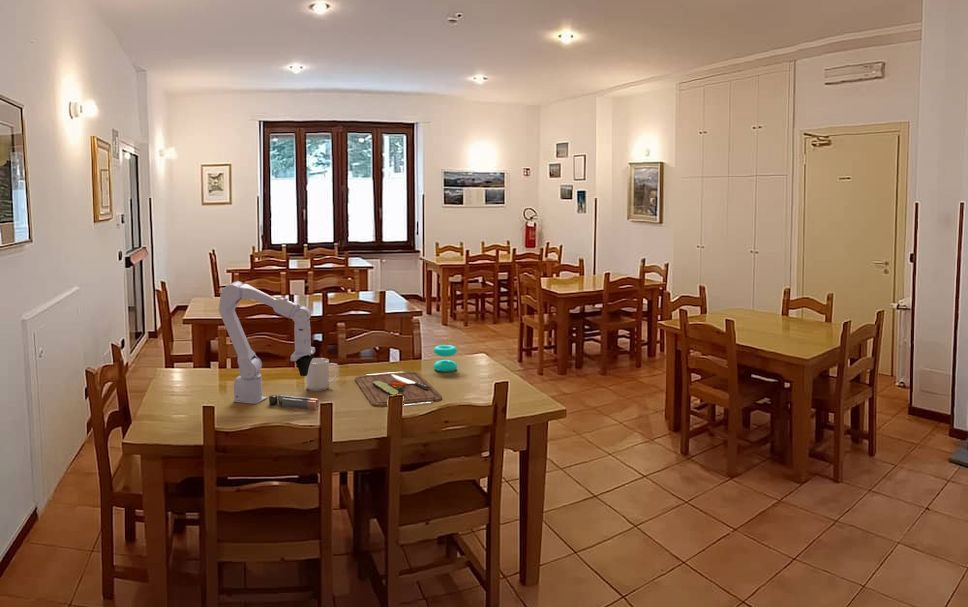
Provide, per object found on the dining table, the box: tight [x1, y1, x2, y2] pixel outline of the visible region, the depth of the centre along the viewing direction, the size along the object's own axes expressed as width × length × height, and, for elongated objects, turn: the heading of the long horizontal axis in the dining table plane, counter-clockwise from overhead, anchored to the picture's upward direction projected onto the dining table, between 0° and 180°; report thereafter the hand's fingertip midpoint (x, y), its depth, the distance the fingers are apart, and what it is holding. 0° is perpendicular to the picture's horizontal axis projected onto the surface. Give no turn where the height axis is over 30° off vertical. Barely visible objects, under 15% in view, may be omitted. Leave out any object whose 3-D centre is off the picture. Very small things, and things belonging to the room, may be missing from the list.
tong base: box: [268, 394, 318, 411], centre depth 270 cm, size 19×3×3 cm, turn 74°
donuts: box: [433, 344, 458, 373], centre depth 322 cm, size 10×10×10 cm
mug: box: [305, 357, 338, 392], centre depth 292 cm, size 12×9×11 cm
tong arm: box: [277, 394, 320, 409], centre depth 271 cm, size 16×3×3 cm, turn 74°
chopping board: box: [354, 371, 443, 408], centre depth 293 cm, size 45×27×3 cm, turn 20°
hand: (303, 375), depth 277 cm, fingers closed
